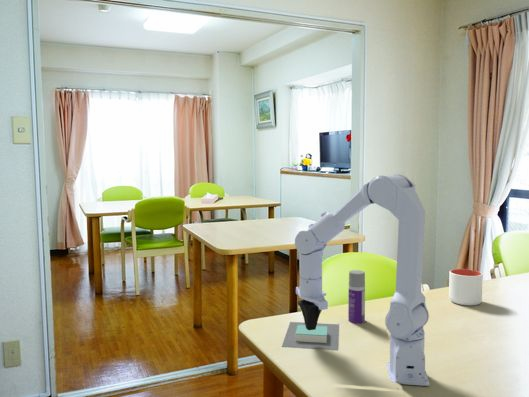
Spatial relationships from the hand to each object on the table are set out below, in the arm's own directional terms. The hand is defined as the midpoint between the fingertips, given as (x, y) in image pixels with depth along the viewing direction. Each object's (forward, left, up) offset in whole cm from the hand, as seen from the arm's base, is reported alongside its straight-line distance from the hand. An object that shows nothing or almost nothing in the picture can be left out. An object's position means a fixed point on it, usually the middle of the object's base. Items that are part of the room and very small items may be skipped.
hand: (310, 329), depth 116 cm
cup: (+43, -48, -4) cm, 65 cm away
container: (+18, -12, -4) cm, 22 cm away
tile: (0, 0, -2) cm, 3 cm away
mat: (+5, 0, -4) cm, 7 cm away
